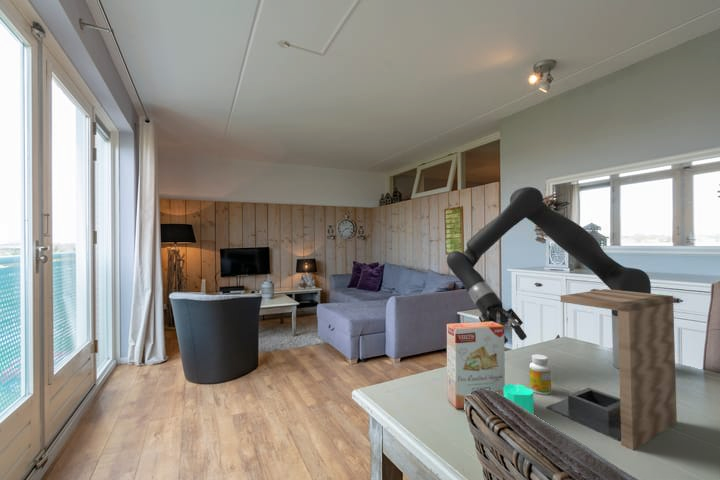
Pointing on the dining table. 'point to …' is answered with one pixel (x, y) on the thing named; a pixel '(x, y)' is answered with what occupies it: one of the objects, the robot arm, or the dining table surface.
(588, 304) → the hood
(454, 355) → the cracker box
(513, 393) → the candle
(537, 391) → the supplement bottle
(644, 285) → the robot arm
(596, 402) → the socket
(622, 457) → the dining table surface
